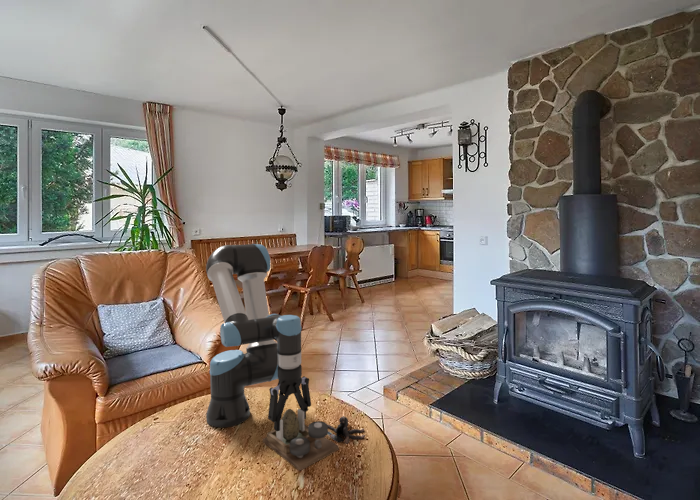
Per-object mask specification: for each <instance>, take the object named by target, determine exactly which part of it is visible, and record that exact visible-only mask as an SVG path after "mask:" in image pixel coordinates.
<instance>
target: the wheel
mask: <svg viewBox="0 0 700 500" xmlns="http://www.w3.org/2000/svg"><path fill="white" fill-rule="evenodd" d="M327 424H328V423H326V422H325V421H321V420H320V421H319V420H317V421H312V422H311V423H309V424H308V425H307V426H308V434H309V436H310V437H312V438H323V437H325V438H326V437H327V436H328V435H327V434H328V432H329V428H328V425H329V424H328V425H327Z"/></svg>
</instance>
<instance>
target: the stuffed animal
mask: <svg viewBox="0 0 700 500" xmlns="http://www.w3.org/2000/svg"><path fill="white" fill-rule="evenodd" d="M338 422H339V423H338V424H337V427H333V426H331V424H328V423H326V424H327V425H328V430H331V431H333V432H334V433H335V434H334V433H333V432H331V431H328V434H327V435H326V436H328V437H330V439H332V440H333V441H335V442H336V443H345V444H350V442H351V440H363V439H364V438H365V437H366V435H365V434H361V433H363V432H364V431H365V428H363V427H362V429H358V428H353V429H350V430H349V427H348V426H349V418H348V417H346V416H344V415H342V416H341V417H340V418H339V420H338ZM354 434H361V435H354ZM343 437H344V438H343Z"/></svg>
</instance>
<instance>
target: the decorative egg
mask: <svg viewBox="0 0 700 500" xmlns="http://www.w3.org/2000/svg"><path fill="white" fill-rule="evenodd" d="M281 420H283V438H284V439H286V440H288V441H291V440H293V439H295V438H296V437H297V436H298V434H299V421H298V415H297V413H296V412H295V411H294V409H291V408H288V409H286V410H285V412H283V414H282V417H281Z"/></svg>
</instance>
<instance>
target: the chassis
mask: <svg viewBox="0 0 700 500" xmlns="http://www.w3.org/2000/svg"><path fill="white" fill-rule="evenodd" d="M308 426H309V425H306V424H305V431H301V430H299V434H298V436H297V437H296V438H295V439H293V440H291V441H288V440H286V439H284V438H283V441H281V440H279V439H278V438H277V437H276V430H275V429H274V430H272V431H269V432H267V433H266V436H265V437H263V438H262V443H264V444H265V445H266V446H268V448H270V449H271V450H272V451H274V452H275V453H276V454H277V455H279V456H280V457H282V458H283V459H284V460H286V461H287V462H288V463H289V464H291V465H292V466H293V467H294V468H296V470H298V471H302V470H304V469H306V468H308V467H309V466H311V465H313V464H315V463H317V462H318V461H320V460H322V459H324V458H325V457H327V456H330V455H331V454H333V453H335V452H337V451H339V450H340V446H339V445H338V444H336V443H335V442H333V441H332V440H330V439H329V438H327V437H326V436H325V437H323V438H312V437H310V436H309V434H308Z"/></svg>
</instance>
